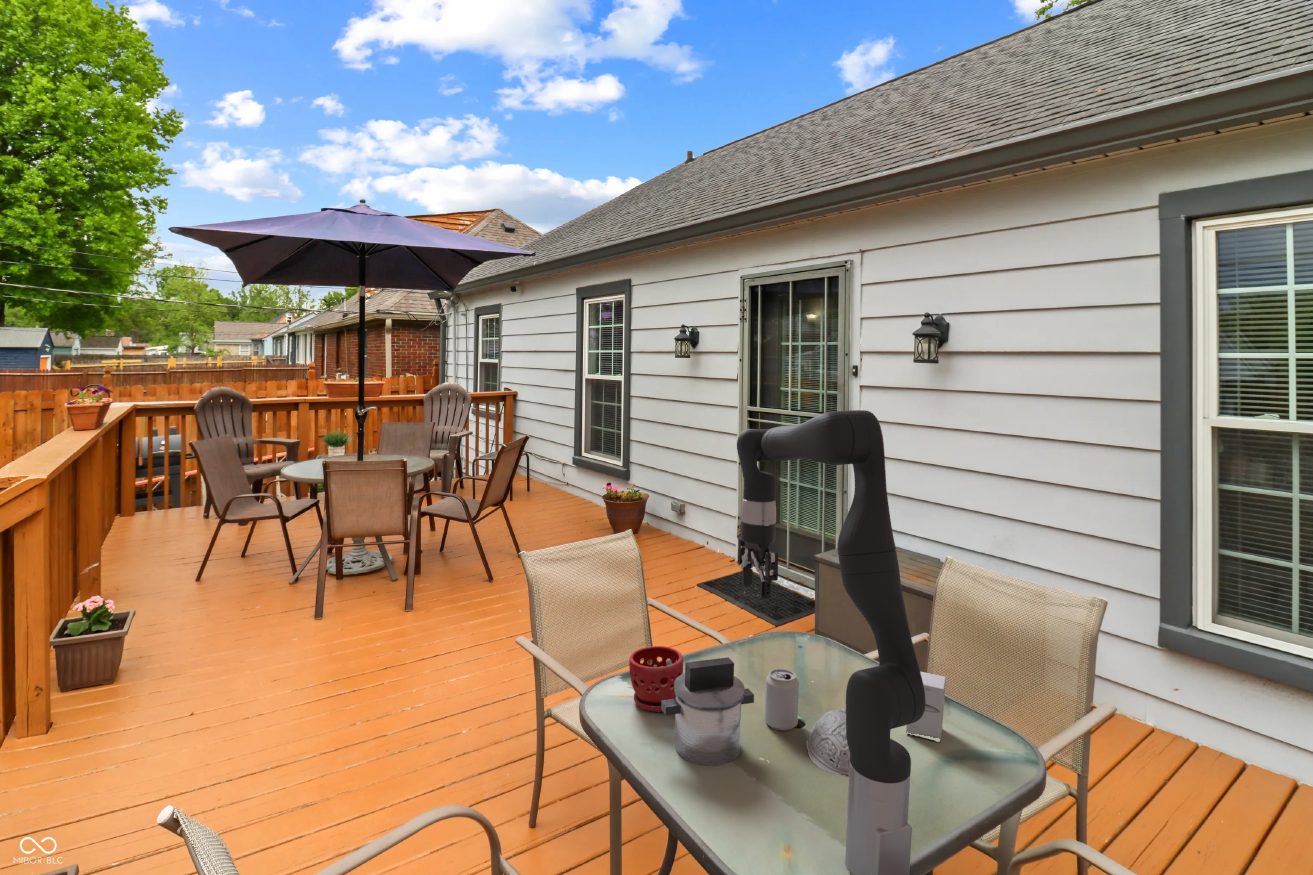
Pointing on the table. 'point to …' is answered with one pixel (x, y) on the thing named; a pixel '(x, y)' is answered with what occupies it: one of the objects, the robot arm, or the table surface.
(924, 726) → the supplement box
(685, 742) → the cooker
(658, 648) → the plant pot
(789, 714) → the can
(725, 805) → the table surface
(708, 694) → the lid
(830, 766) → the grey oval domed piece
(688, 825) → the table surface
